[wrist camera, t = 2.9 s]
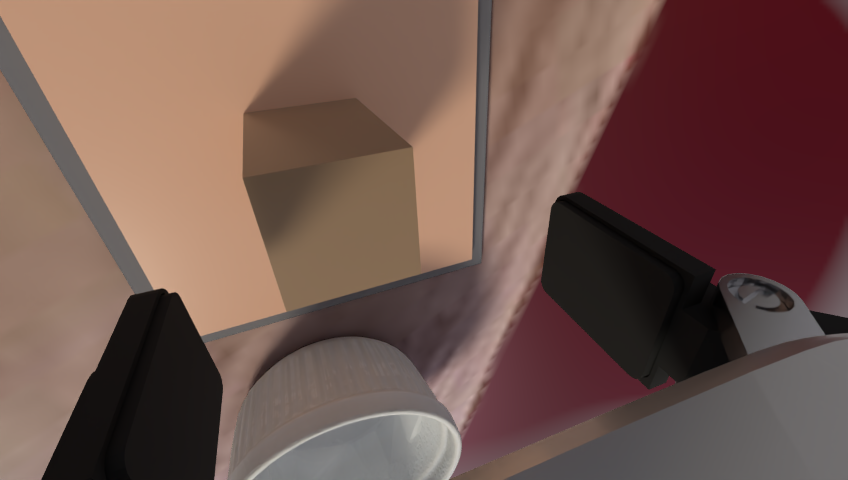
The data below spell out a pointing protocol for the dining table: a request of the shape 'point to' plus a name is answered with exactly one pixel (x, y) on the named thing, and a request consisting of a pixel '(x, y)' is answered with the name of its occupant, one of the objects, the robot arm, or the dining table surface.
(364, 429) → the ramekin
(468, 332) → the dining table surface
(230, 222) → the cover
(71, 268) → the dining table surface
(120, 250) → the mat
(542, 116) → the dining table surface
